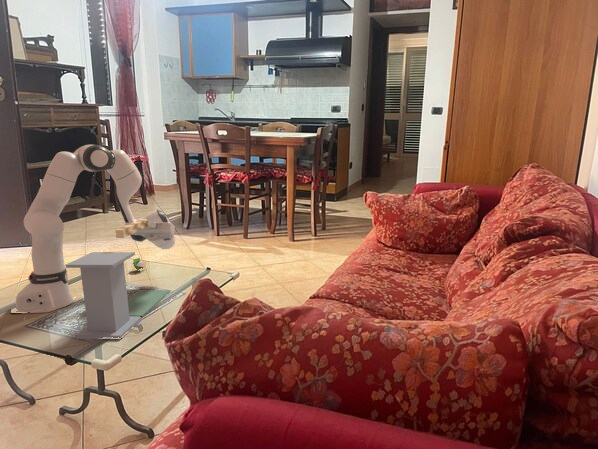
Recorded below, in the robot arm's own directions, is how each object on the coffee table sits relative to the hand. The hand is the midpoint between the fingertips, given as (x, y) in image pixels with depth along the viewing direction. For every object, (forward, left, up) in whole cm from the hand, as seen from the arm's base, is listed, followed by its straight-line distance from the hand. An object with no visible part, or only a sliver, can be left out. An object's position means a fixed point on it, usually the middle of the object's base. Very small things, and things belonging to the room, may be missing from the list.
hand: (142, 222), depth 183 cm
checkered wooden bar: (-3, -8, -2) cm, 8 cm away
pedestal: (-11, -31, -32) cm, 46 cm away
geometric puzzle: (-7, +41, -32) cm, 53 cm away
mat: (-3, -7, -32) cm, 33 cm away
